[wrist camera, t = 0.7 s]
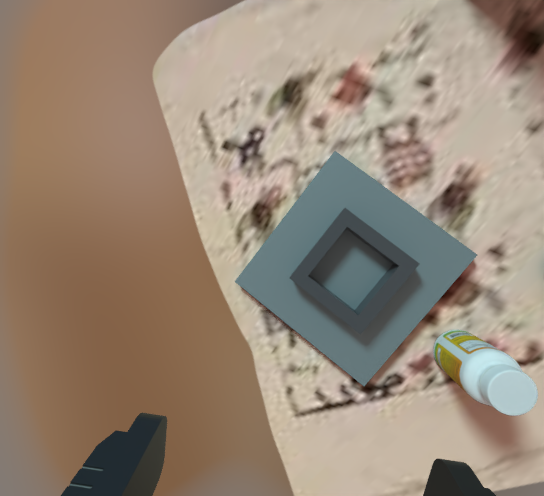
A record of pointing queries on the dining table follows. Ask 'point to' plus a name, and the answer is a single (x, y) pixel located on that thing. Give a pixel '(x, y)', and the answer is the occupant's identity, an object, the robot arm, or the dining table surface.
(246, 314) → the dining table surface
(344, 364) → the socket board
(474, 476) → the robot arm
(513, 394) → the supplement bottle
